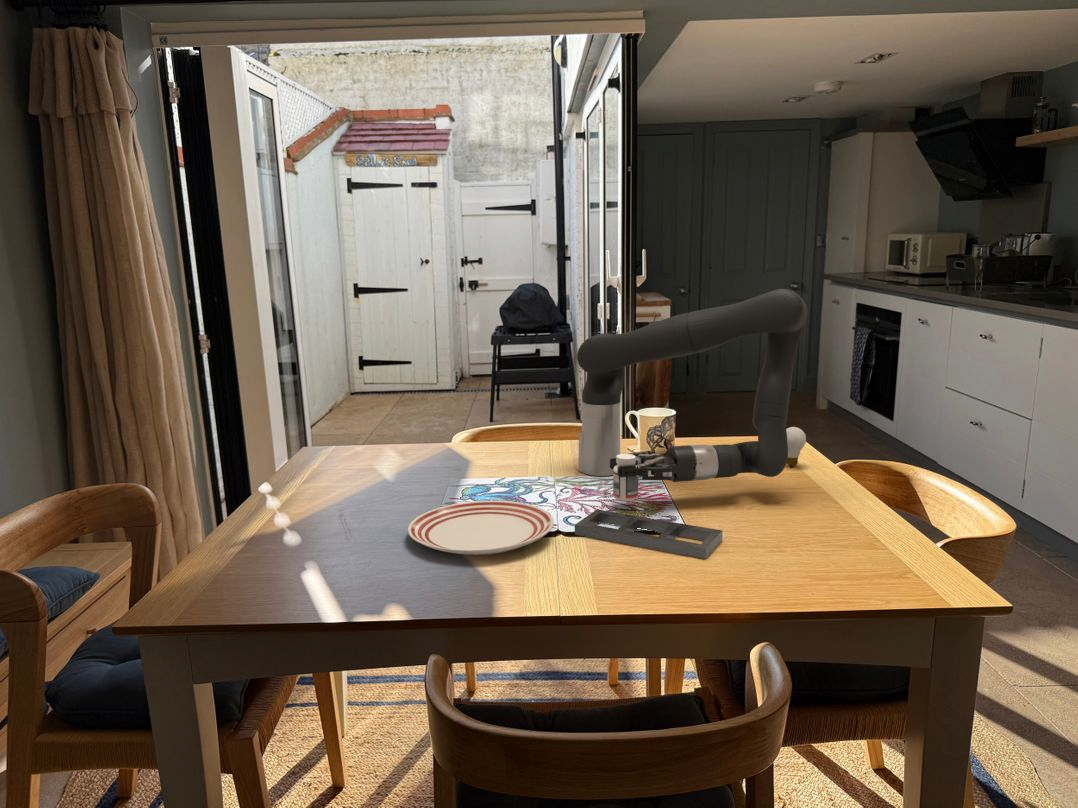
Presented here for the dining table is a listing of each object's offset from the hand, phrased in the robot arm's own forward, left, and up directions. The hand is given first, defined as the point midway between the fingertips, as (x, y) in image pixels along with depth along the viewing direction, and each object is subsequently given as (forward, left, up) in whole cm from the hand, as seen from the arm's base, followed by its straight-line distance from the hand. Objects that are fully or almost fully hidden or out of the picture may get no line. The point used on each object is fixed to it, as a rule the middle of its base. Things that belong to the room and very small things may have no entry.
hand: (614, 467), depth 163 cm
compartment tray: (+12, -12, -9) cm, 20 cm away
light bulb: (+26, +49, -9) cm, 56 cm away
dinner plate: (-16, -26, -9) cm, 32 cm away
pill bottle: (+2, +2, -7) cm, 7 cm away
